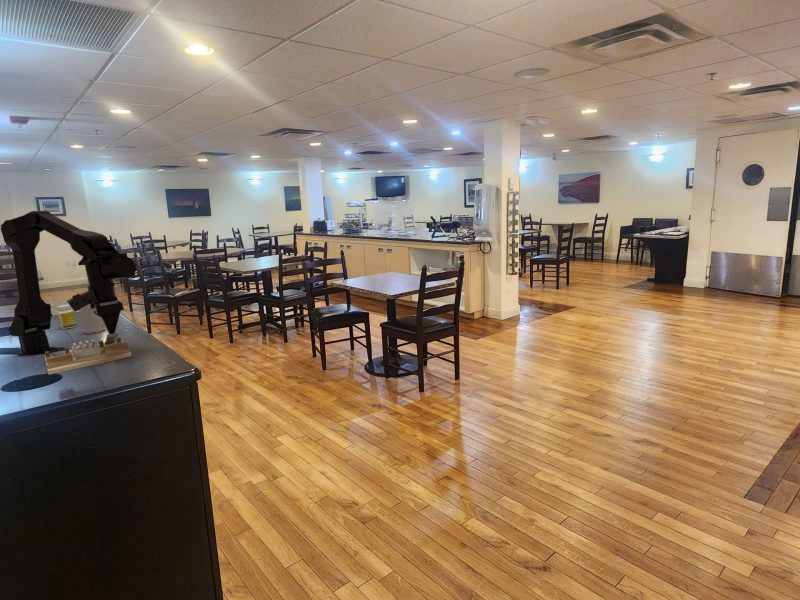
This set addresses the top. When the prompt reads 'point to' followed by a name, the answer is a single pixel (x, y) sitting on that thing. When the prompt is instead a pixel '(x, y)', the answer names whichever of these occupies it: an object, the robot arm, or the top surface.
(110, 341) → the strap
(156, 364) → the top surface
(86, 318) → the beverage can
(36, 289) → the robot arm
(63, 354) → the strap
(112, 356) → the heatsink board
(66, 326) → the supplement bottle
